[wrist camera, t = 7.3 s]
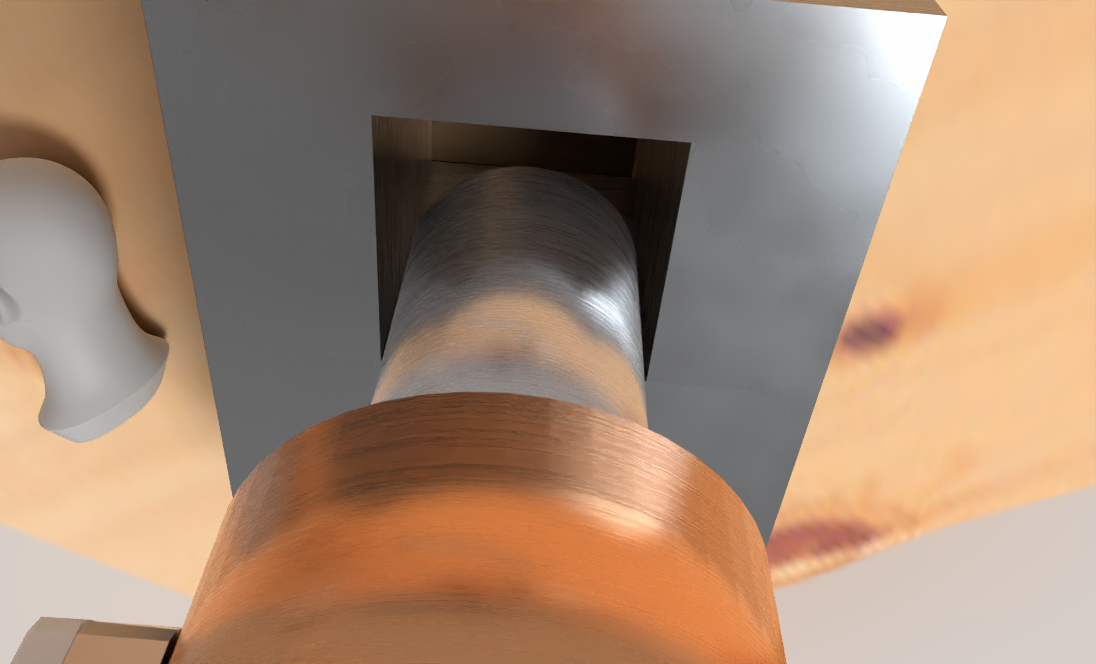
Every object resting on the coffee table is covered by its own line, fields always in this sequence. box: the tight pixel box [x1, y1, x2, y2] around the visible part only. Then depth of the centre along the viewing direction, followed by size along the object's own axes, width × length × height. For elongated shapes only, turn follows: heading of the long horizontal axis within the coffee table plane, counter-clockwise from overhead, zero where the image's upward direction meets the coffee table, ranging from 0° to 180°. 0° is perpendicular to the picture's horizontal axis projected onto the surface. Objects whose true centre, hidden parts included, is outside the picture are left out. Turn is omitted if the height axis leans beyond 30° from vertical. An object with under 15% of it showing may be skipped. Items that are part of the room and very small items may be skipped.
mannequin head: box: [0, 157, 169, 443], centre depth 26 cm, size 4×8×5 cm
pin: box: [169, 166, 786, 664], centre depth 13 cm, size 7×7×11 cm
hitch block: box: [141, 0, 947, 547], centre depth 23 cm, size 12×18×8 cm, turn 176°
